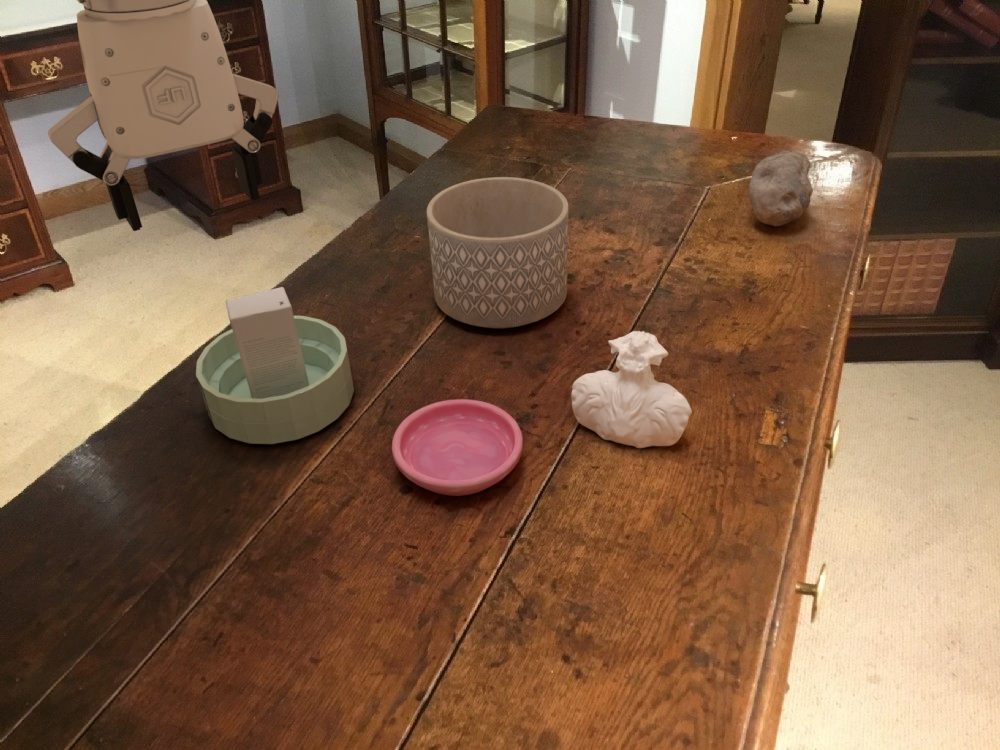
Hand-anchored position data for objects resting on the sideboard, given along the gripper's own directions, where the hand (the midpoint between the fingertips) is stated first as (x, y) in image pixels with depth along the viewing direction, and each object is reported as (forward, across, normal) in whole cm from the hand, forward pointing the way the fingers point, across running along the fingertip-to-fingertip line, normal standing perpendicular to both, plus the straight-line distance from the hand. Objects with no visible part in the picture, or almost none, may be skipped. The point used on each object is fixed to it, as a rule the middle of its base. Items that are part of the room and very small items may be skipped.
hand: (193, 209), depth 70 cm
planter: (+26, +35, +9) cm, 44 cm away
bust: (+26, +33, -19) cm, 46 cm away
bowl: (+26, +5, +5) cm, 27 cm away
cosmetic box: (+25, +5, +5) cm, 26 cm away
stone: (+25, +79, +5) cm, 83 cm away
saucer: (+26, +16, -14) cm, 33 cm away
